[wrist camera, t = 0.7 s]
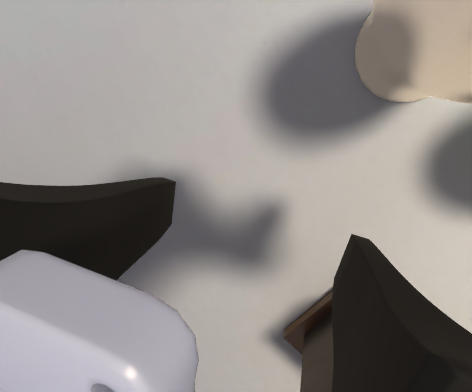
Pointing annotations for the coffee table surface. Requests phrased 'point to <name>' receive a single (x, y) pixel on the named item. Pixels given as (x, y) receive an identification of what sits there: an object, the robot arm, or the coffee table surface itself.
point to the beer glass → (417, 50)
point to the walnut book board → (314, 345)
